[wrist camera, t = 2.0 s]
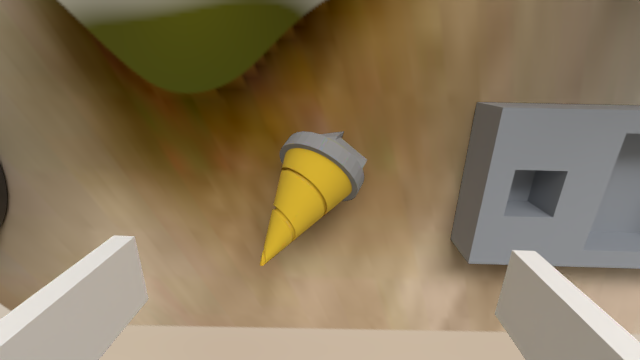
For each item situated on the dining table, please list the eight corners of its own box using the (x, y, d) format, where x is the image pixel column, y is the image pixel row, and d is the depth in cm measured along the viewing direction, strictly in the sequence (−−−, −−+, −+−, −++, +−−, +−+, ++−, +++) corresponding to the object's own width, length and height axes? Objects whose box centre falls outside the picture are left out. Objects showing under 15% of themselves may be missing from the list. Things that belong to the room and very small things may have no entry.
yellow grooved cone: (380, 167, 21) (312, 300, 17) (314, 145, 23) (238, 260, 19) (384, 112, 17) (294, 274, 12) (302, 90, 18) (199, 224, 14)
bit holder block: (450, 239, 22) (468, 263, 19) (476, 102, 19) (503, 107, 16) (681, 245, 22) (733, 271, 19) (751, 107, 19) (827, 114, 16)
